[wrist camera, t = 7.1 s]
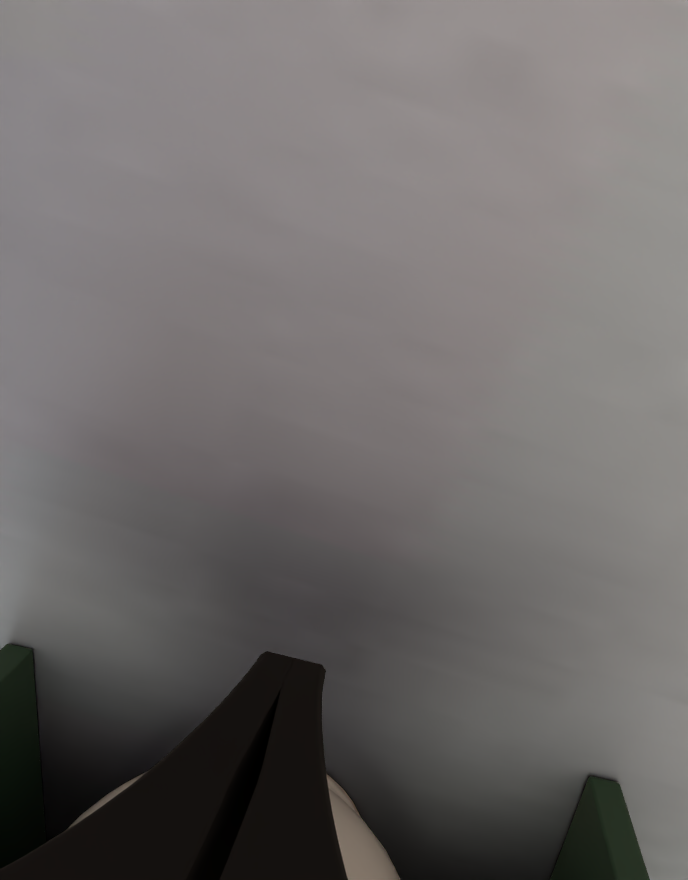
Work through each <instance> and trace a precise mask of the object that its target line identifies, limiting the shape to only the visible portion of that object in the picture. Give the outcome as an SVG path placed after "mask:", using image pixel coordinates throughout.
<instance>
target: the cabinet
mask: <svg viewBox="0 0 688 880" xmlns="http://www.w3.org/2000/svg"><path fill="white" fill-rule="evenodd" d="M44 843H46V832H45V818H44V804H43V790H42V776H41V762H40V749H39V735H38V721H37V707H36V693H35V679H34V665H33V652H32V649H29V648H25V647H20V646H16V645H11V644H6V645H5V646H4V647H3V648H2V649H1V650H0V869H1V868H3V867H5V866H7V865H9V864H11V863H12V862H14V861H16V860H18V859H20V858H21V857H23V856H25V855H26V854H28V853H30V852H32V851H33V850H35V849H36V848H38V847H40V846H41V845H43V844H44ZM550 880H650V879H649V876H648V873H647V870H646V867H645V863H644V860H643V857H642V854H641V851H640V847H639V844H638V841H637V838H636V835H635V832H634V828H633V825H632V822H631V819H630V816H629V812H628V809H627V806H626V803H625V800H624V796H623V793H622V790H621V787H620V784H619V783H618V782H614V781H610V780H606V779H601V778H597V777H592V776H591V777H589V778H588V781H587V783H586V786H585V789H584V791H583V794H582V797H581V799H580V802H579V804H578V807H577V810H576V812H575V815H574V818H573V820H572V823H571V826H570V828H569V831H568V833H567V836H566V839H565V841H564V844H563V847H562V849H561V852H560V855H559V857H558V860H557V863H556V865H555V868H554V870H553V873H552V876H551V878H550Z"/></svg>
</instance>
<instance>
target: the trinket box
mask: <svg viewBox="0 0 688 880" xmlns="http://www.w3.org/2000/svg"><path fill="white" fill-rule="evenodd" d="M145 773H146V772H145ZM145 773H143V774H141V775H139V776H137V777H136V778H134V779H132V780H130V781H128V782H126V783H125V784H123V785H121V786H120V787H118V788H117V789H115V790H113V791H112V792H110V793H109V794H107V795H106V796H104V797H103V798H102V799H101V800H99V801H98V802H97V803H96V804H94V805H93V806H92V807H90V808H89V809H88V810H87V811H85V812H84V813H83V814H82V815H81V816H80V817H79V818H78V819H77V820H76V821H75V822H74V823H73V824H72V825H71V826H70V827H72V826H73V825H75V824H77V823H78V822H80V821H81V820H83V819H84V818H86V817H87V816H89V815H90V814H91V813H93V812H94V811H96V810H97V809H99V808H100V807H101V806H103V805H104V804H106V803H107V802H108V801H110V800H111V799H112V798H114V797H115V796H116V795H118V794H119V793H121V792H122V791H123V790H125V789H126V788H127V787H129V786H130V785H131V784H133V783H134V782H135V781H136V780H138V779H139V778H140V777H141V776H143V775H144V774H145ZM326 775H327V774H326ZM327 782H328V789H329V795H330V801H331V807H332V813H333V818H334V823H335V828H336V832H337V837H338V842H339V846H340V850H341V854H342V858H343V863H344V867H345V871H346V875H347V878H348V880H401V879H400V877H399V875H398V873H397V871H396V869H395V867H394V865H393V863H392V861H391V859H390V858H389V856H388V854H387V852H386V850H385V848H384V847H383V846H382V844H381V843H380V842H379V840H378V839H377V838H376V836H375V835H374V834H373V832H372V831H371V830H370V828H369V827H368V826H367V824H366V823H365V822H364V821H363V819H362V818H361V817H360V815H359V812H358V811H357V809H356V807H355V805H354V803H353V801H352V800H351V799H350V797H349V796H348V795H347V793H346V792H345V791H344V790H343V789H342V788H341V787H340V786H339V785H338V784H337V783H336V782H335V781H334V780H333V779H332V778H331V777H330V776H328V775H327ZM70 827H69V828H70ZM69 828H68V829H69Z"/></svg>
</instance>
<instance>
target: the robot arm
mask: <svg viewBox="0 0 688 880" xmlns="http://www.w3.org/2000/svg"><path fill="white" fill-rule="evenodd" d="M325 673H326V670H325V669H324V667H323V666H322V665H320V664H316V663H312V662H308V661H304V660H300V659H296V658H292V657H288V656H284V655H280V654H276V653H271V652H265V653H263V654H261V655H260V657H259V658H258V660H257V661H256V662H255V664H254V665H253V666H252V668H251V669H250V670H249V671H248V673H247V674H246V675H245V676H244V677H243V679H242V680H241V681H240V682H239V683H238V685H237V686H236V687H235V688H234V689H233V690H232V691H231V693H230V694H229V695H228V696H227V697H226V698H225V699H224V700H223V701H222V702H221V703H220V704H219V705H218V706H217V708H216V709H215V710H214V711H213V712H212V713H211V714H210V715H209V716H208V717H207V718H206V719H205V720H204V721H203V722H202V723H201V724H200V725H199V726H198V727H197V728H196V729H195V730H194V731H193V732H192V733H190V734H189V735H188V736H187V737H186V738H185V739H184V740H183V741H182V742H181V743H180V744H179V745H178V746H177V747H176V748H174V749H173V750H172V751H171V752H170V753H169V754H168V755H167V756H165V757H164V758H163V759H162V760H161V761H160V762H158V763H157V764H156V765H155V766H154V767H153V768H151V769H150V770H149V771H148V772H146V773H145V774H144V775H143V776H141V777H140V778H139V779H138V780H136V781H135V782H134V783H133V784H131V785H130V786H129V787H127V788H126V789H125V790H123V791H122V792H121V793H119V794H118V795H116V796H115V797H114V798H112V799H111V800H110V801H108V802H107V803H106V804H104V805H103V806H101V807H100V808H99V809H97V810H96V811H94V812H93V813H91V814H90V815H89V816H87V817H86V818H84V819H83V820H81V821H80V822H78V823H77V824H75V825H73V826H72V827H70V828H69V829H67V830H65V831H64V832H62V833H61V834H59V835H57V836H56V837H54V838H52V839H51V840H49V841H48V842H46V843H44V844H43V845H41V846H40V847H38V848H36V849H35V850H33V851H32V852H30V853H28V854H26V855H25V856H23V857H21V858H20V859H18V860H16V861H14V862H12V863H11V864H9V865H7V866H5V867H3V868H1V869H0V880H348V878H347V875H346V871H345V867H344V863H343V858H342V854H341V850H340V846H339V842H338V837H337V832H336V828H335V823H334V818H333V813H332V807H331V801H330V795H329V789H328V782H327V775H326V767H325V758H324V746H323V734H322V690H323V684H324V679H325Z"/></svg>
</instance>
